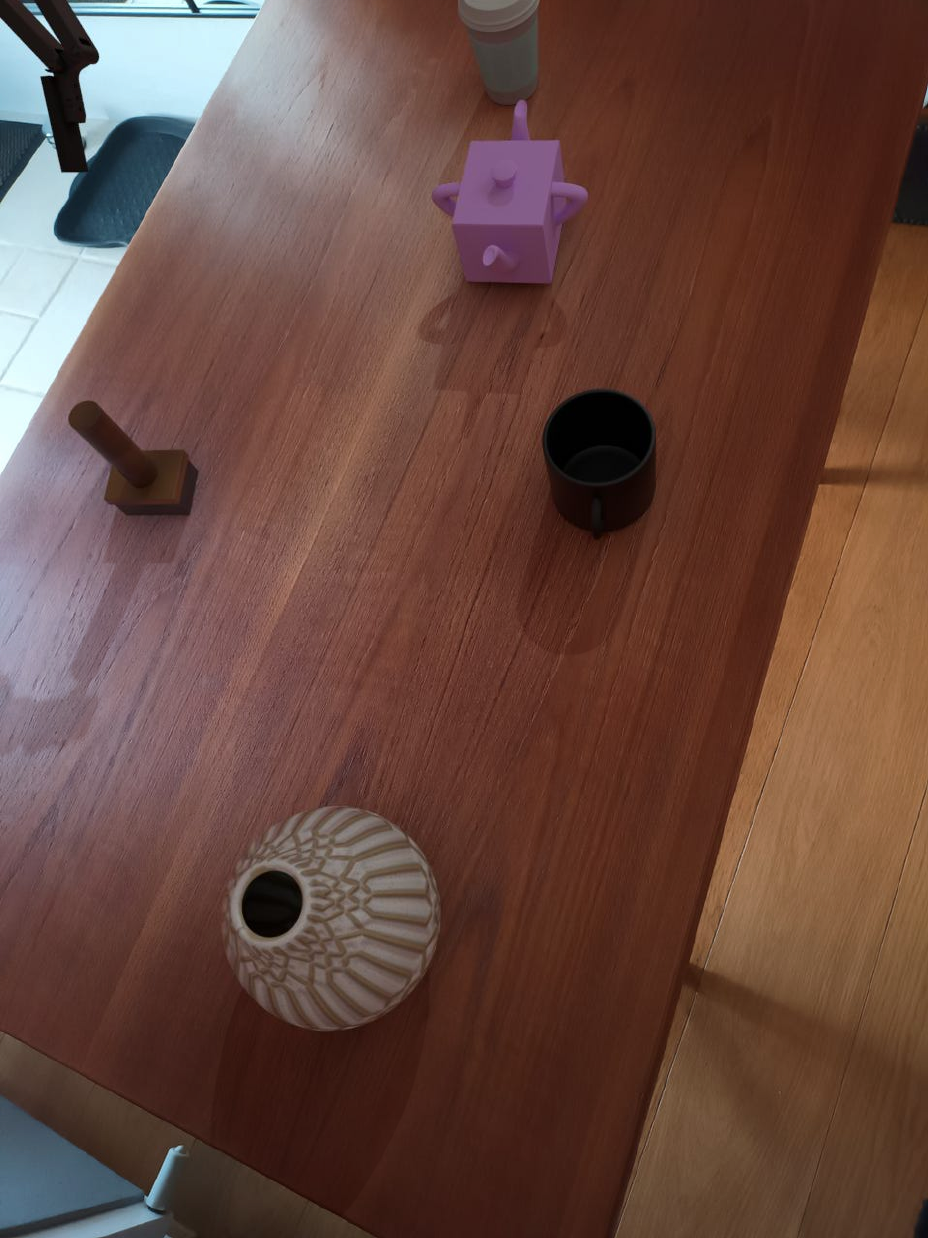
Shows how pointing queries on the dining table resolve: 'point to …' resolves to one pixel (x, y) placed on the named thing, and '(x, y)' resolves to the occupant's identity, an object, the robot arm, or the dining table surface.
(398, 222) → the dining table surface
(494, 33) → the coffee cup
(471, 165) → the teapot
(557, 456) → the mug
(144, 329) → the dining table surface
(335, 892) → the vase
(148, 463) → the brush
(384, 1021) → the dining table surface
